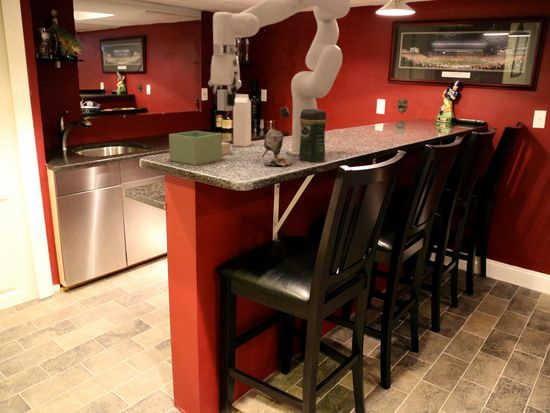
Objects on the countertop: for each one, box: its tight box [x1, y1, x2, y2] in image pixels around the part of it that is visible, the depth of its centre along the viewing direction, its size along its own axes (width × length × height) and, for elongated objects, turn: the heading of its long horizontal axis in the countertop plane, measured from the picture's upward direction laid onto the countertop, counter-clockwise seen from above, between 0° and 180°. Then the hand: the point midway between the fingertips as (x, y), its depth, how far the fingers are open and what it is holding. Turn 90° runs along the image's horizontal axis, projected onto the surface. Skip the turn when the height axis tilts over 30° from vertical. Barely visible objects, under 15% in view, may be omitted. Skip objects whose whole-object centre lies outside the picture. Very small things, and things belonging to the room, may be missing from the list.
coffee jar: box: [298, 108, 327, 163], centre depth 163 cm, size 10×8×19 cm
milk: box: [232, 93, 252, 147], centre depth 194 cm, size 6×6×22 cm
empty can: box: [216, 89, 233, 112], centre depth 158 cm, size 5×5×7 cm
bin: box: [168, 130, 223, 166], centre depth 161 cm, size 13×13×10 cm
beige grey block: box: [222, 141, 231, 156], centre depth 177 cm, size 5×5×4 cm
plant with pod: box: [261, 106, 293, 167], centre depth 154 cm, size 8×11×20 cm
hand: (224, 104), depth 158 cm, fingers closed on empty can, 5 cm apart
